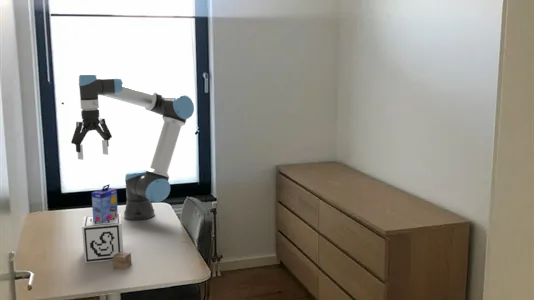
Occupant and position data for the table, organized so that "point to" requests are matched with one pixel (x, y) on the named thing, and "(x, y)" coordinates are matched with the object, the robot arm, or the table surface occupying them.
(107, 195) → the ink cartridge box
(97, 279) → the table surface
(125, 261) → the walnut cube
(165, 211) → the table surface
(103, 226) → the block
